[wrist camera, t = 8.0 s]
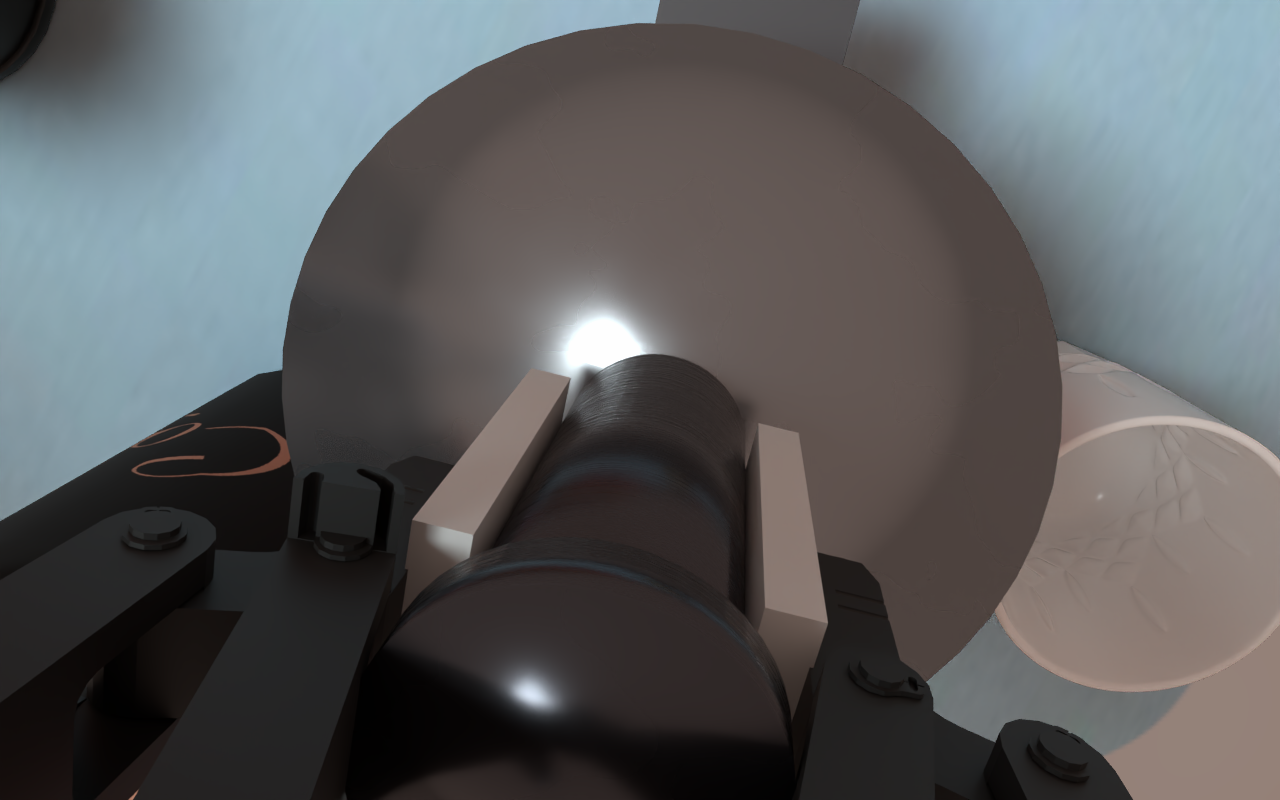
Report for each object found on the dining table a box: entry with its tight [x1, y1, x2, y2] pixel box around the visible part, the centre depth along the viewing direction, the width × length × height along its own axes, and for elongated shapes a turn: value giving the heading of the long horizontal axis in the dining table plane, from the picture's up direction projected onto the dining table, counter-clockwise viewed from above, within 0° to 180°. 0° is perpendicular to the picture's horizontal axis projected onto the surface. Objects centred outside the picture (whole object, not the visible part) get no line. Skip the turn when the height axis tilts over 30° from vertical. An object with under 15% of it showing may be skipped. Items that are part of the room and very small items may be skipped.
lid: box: [282, 23, 1062, 800], centre depth 15 cm, size 16×16×13 cm
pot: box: [655, 0, 860, 65], centre depth 27 cm, size 21×15×12 cm
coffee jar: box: [0, 370, 295, 800], centre depth 29 cm, size 11×11×18 cm
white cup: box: [995, 341, 1280, 692], centre depth 29 cm, size 8×8×10 cm
